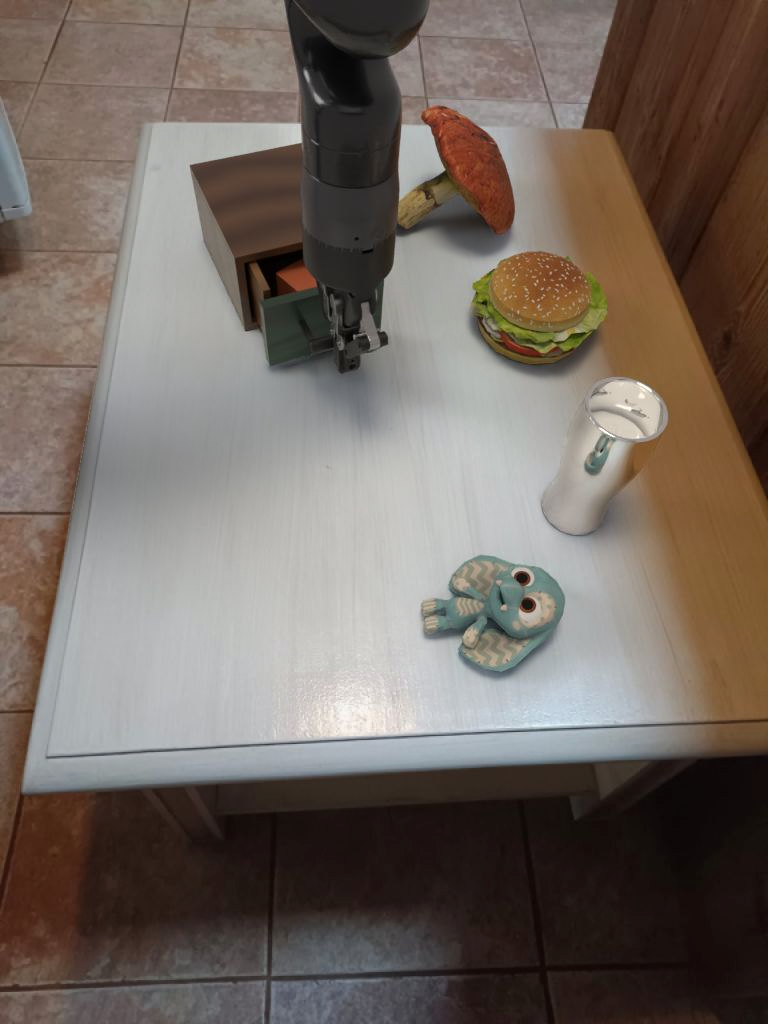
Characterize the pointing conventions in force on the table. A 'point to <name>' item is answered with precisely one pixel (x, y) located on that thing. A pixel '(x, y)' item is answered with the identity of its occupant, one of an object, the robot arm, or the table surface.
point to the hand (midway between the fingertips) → (346, 366)
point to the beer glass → (603, 452)
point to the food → (537, 307)
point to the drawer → (290, 312)
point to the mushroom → (462, 173)
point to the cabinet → (249, 214)
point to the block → (294, 278)
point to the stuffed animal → (498, 610)
